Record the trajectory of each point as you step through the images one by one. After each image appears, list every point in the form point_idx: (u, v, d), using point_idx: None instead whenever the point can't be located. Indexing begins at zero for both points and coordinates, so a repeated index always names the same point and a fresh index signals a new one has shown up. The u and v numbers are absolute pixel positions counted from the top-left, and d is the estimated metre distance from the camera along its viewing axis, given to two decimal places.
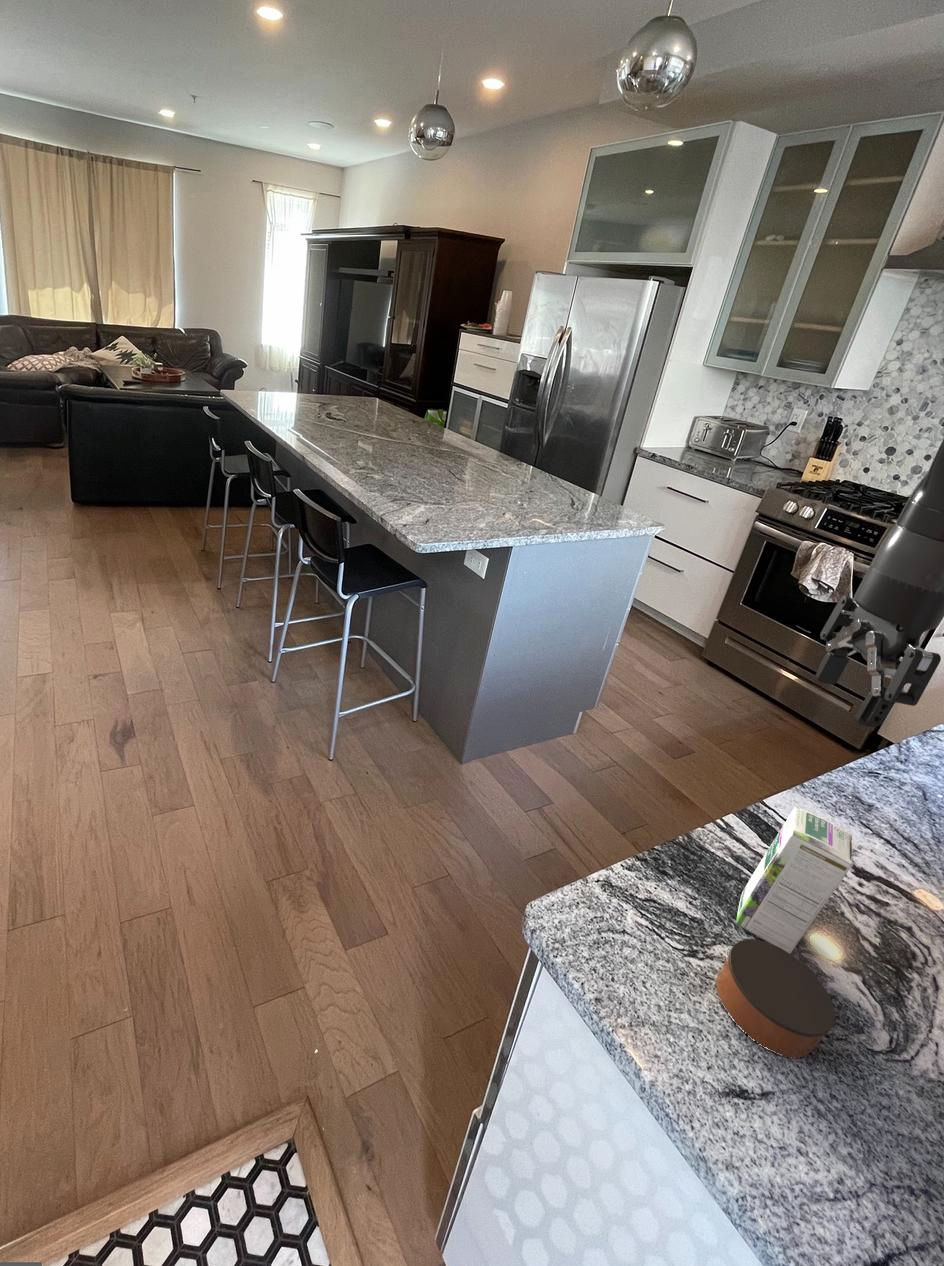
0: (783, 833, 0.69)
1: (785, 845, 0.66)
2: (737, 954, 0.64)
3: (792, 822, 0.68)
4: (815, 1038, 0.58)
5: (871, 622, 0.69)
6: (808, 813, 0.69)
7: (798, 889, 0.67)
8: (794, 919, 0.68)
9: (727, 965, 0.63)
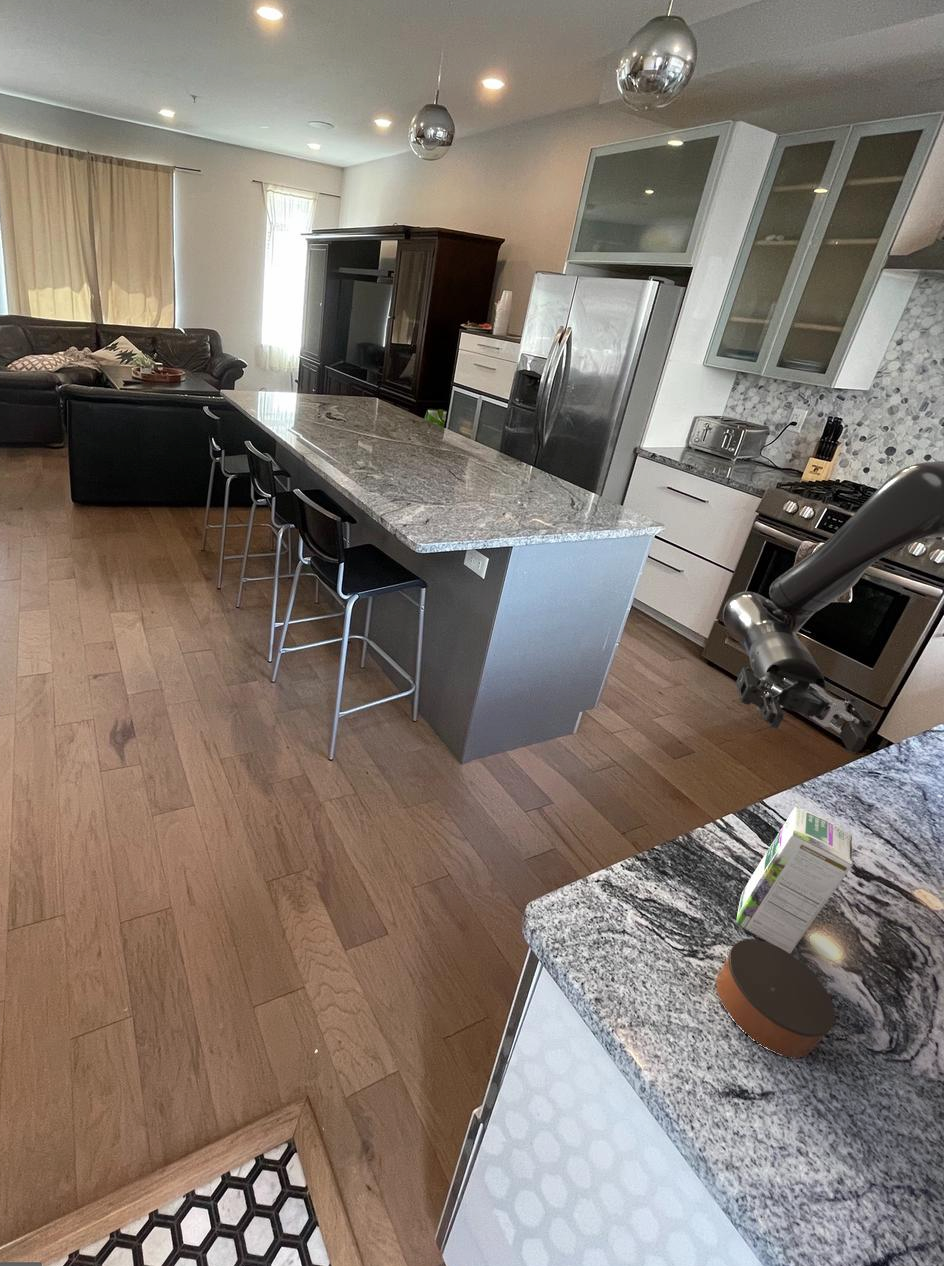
0: (783, 833, 0.69)
1: (785, 845, 0.66)
2: (737, 954, 0.64)
3: (792, 822, 0.68)
4: (815, 1038, 0.58)
5: None
6: (808, 813, 0.69)
7: (798, 889, 0.67)
8: (794, 919, 0.68)
9: (727, 965, 0.63)
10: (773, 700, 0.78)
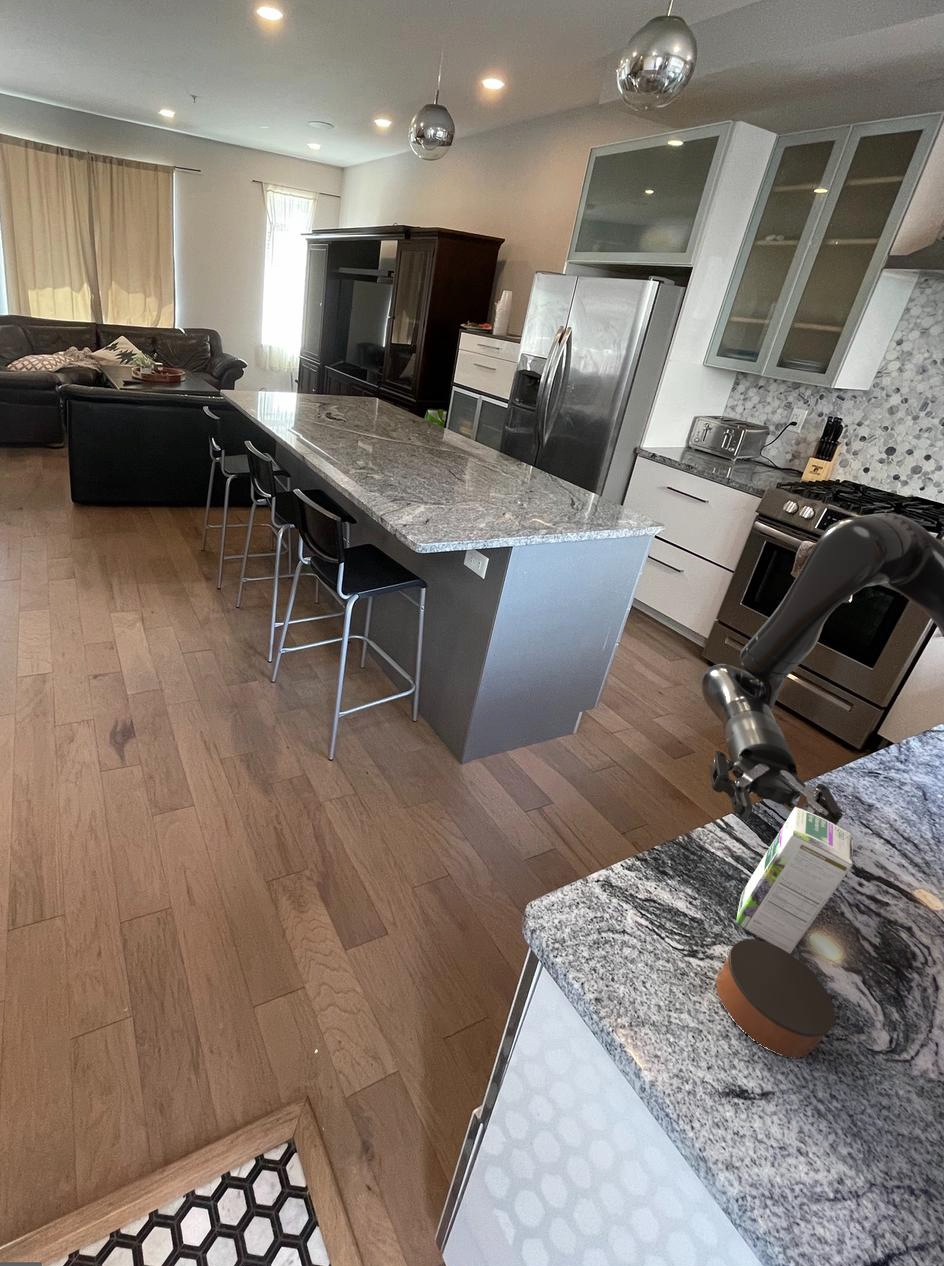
0: (783, 833, 0.69)
1: (785, 845, 0.66)
2: (737, 954, 0.64)
3: (792, 822, 0.68)
4: (815, 1038, 0.58)
5: None
6: (808, 813, 0.69)
7: (798, 889, 0.67)
8: (794, 919, 0.68)
9: (727, 965, 0.63)
10: (743, 791, 0.79)
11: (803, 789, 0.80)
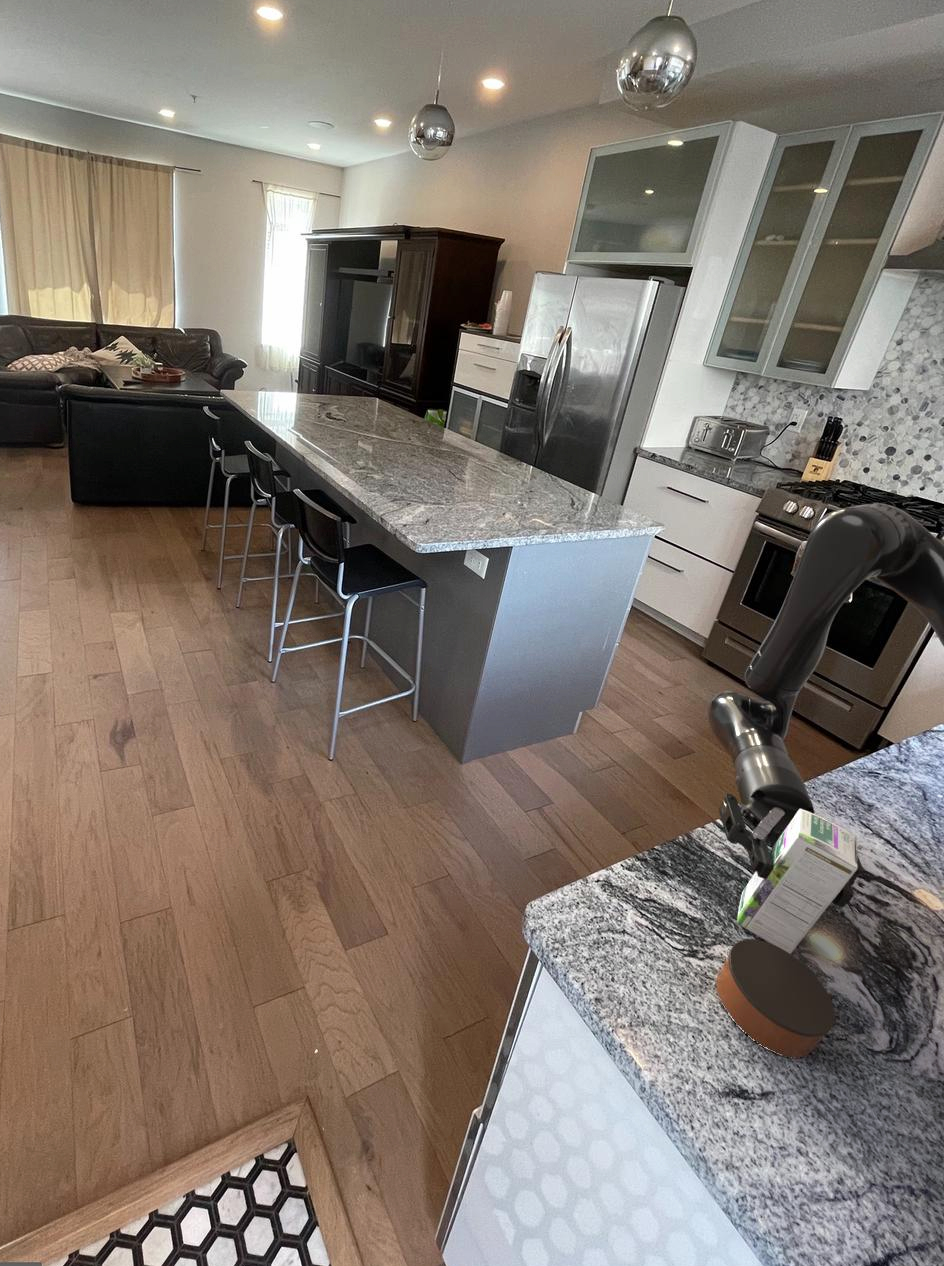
0: (788, 835, 0.69)
1: (790, 847, 0.66)
2: (737, 954, 0.64)
3: (797, 824, 0.67)
4: (815, 1038, 0.58)
5: None
6: (813, 815, 0.69)
7: (801, 891, 0.66)
8: (795, 920, 0.68)
9: (727, 965, 0.63)
10: (762, 844, 0.71)
11: None
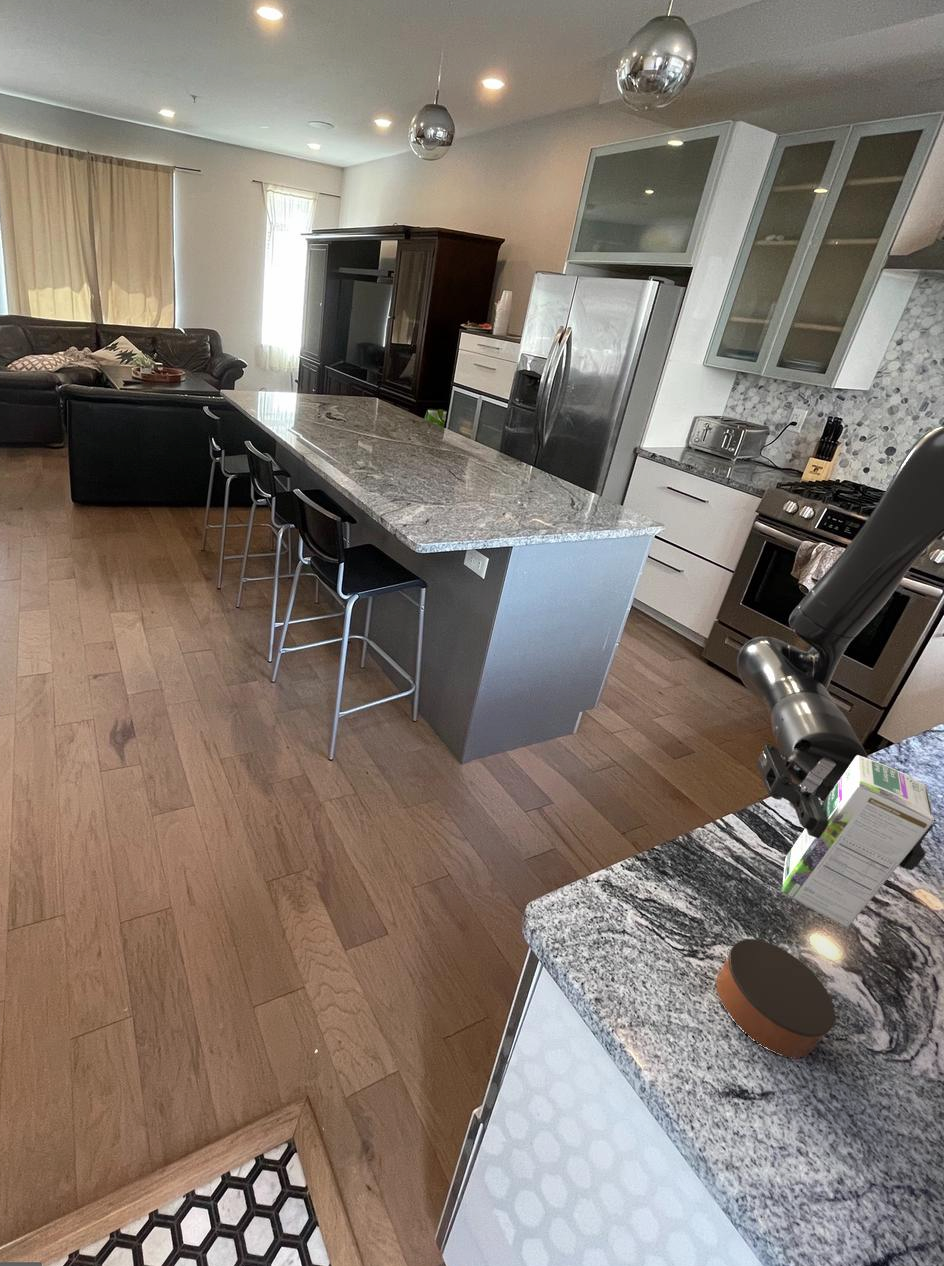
0: (843, 786, 0.58)
1: (849, 799, 0.55)
2: (737, 954, 0.64)
3: (856, 772, 0.57)
4: (815, 1038, 0.58)
5: None
6: (874, 762, 0.58)
7: (863, 851, 0.56)
8: (855, 887, 0.57)
9: (727, 965, 0.63)
10: (812, 798, 0.60)
11: None
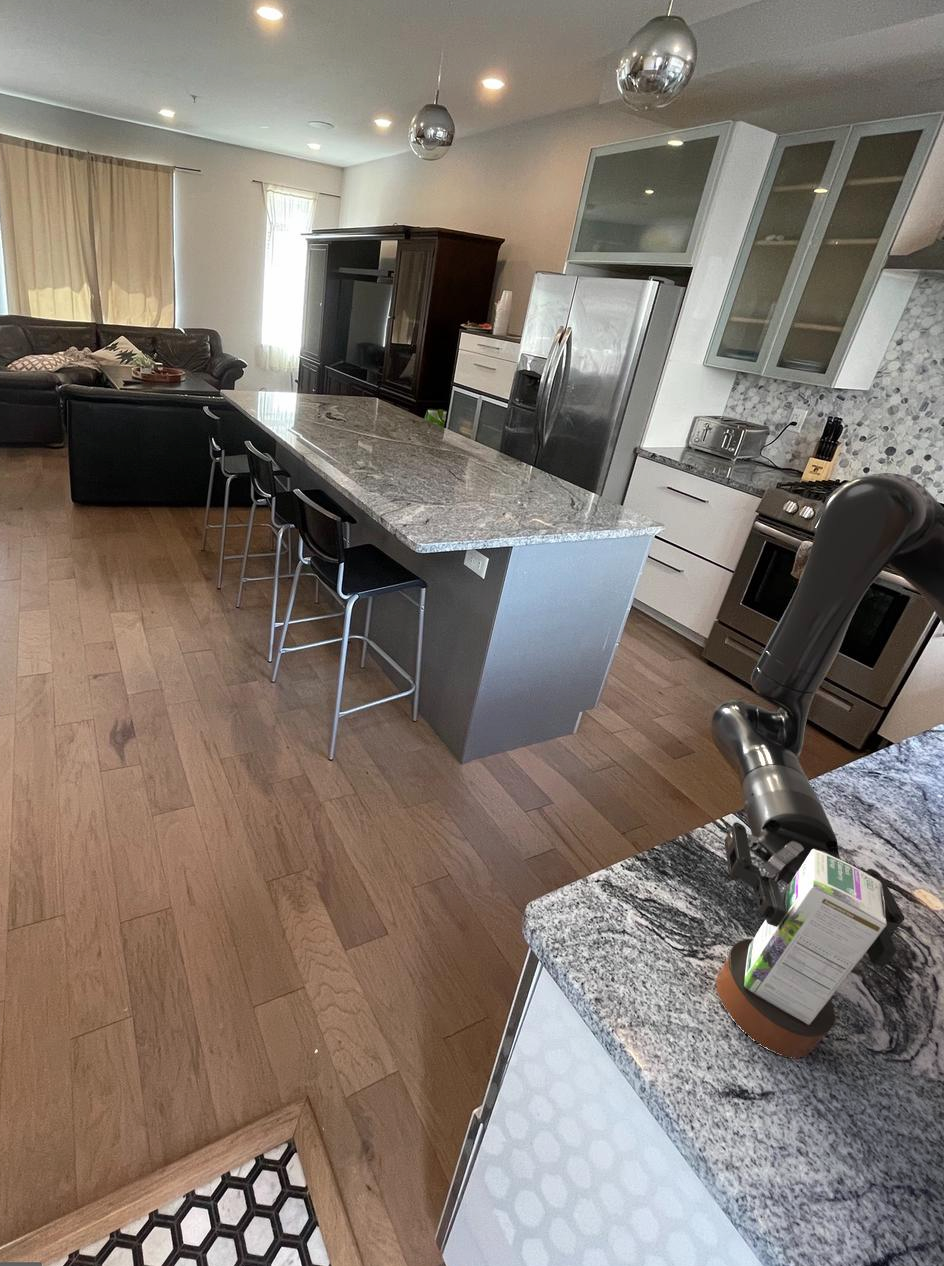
0: (800, 881, 0.58)
1: (804, 898, 0.55)
2: (737, 954, 0.64)
3: (811, 869, 0.56)
4: (815, 1038, 0.58)
5: None
6: (829, 857, 0.58)
7: (820, 950, 0.55)
8: (814, 985, 0.56)
9: (727, 965, 0.63)
10: (771, 883, 0.59)
11: None
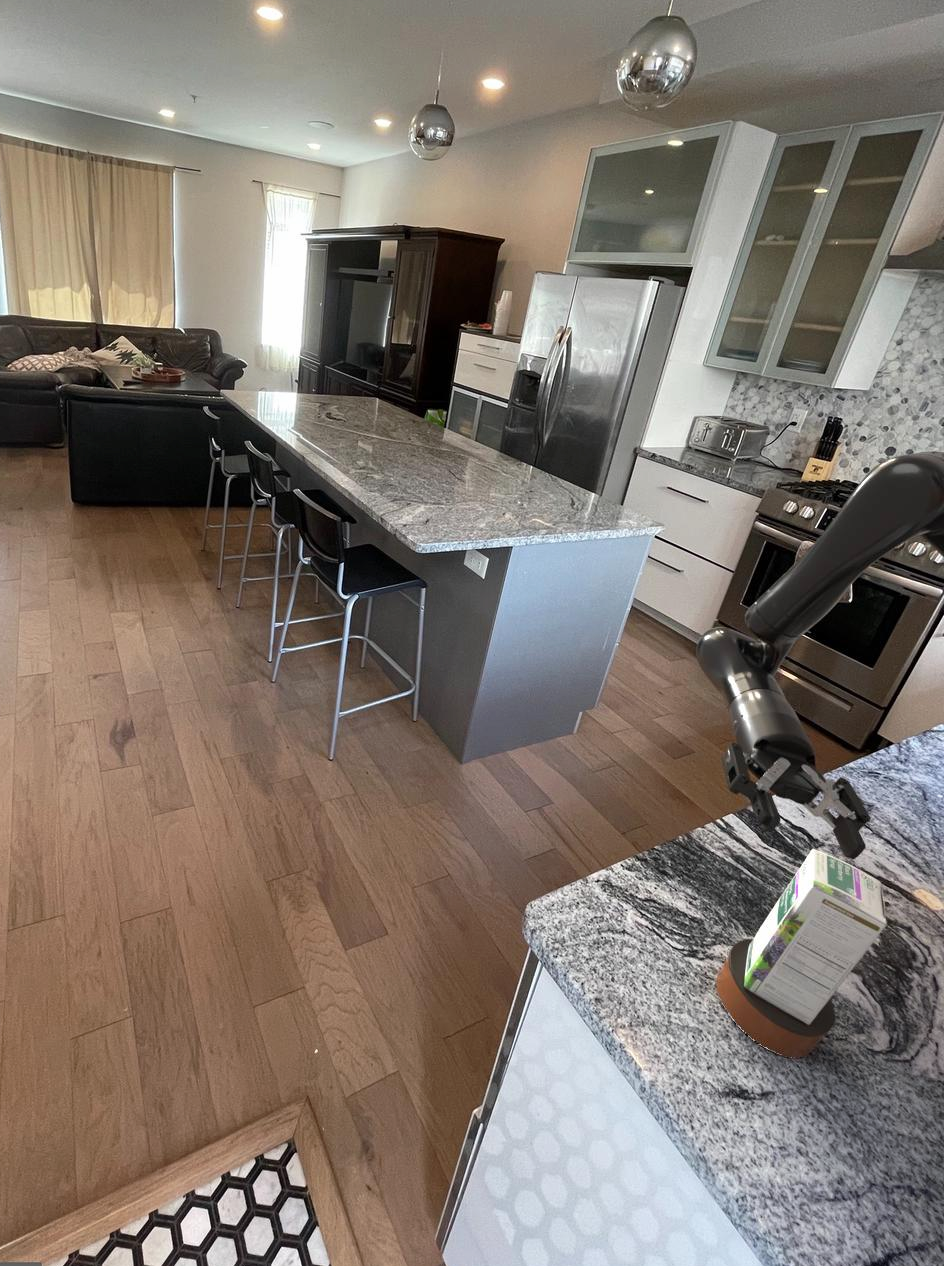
0: (800, 881, 0.58)
1: (804, 898, 0.55)
2: (737, 954, 0.64)
3: (811, 869, 0.56)
4: (815, 1038, 0.58)
5: None
6: (829, 857, 0.58)
7: (820, 950, 0.55)
8: (814, 985, 0.56)
9: (727, 965, 0.63)
10: (767, 796, 0.69)
11: (828, 788, 0.71)
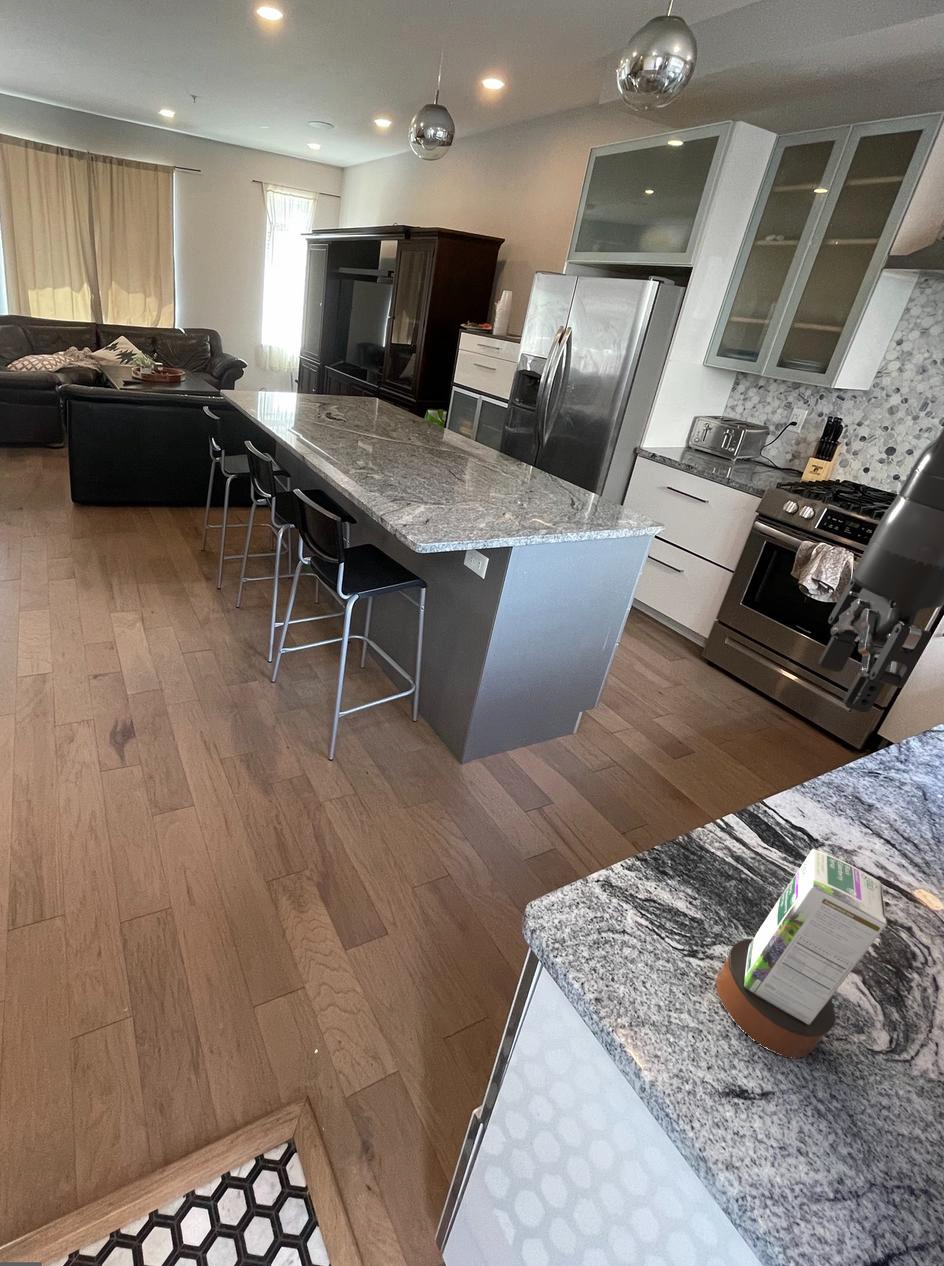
0: (800, 881, 0.58)
1: (804, 898, 0.55)
2: (737, 954, 0.64)
3: (811, 869, 0.56)
4: (815, 1038, 0.58)
5: (871, 601, 0.64)
6: (829, 857, 0.58)
7: (820, 950, 0.55)
8: (814, 985, 0.56)
9: (727, 965, 0.63)
10: None
11: None
